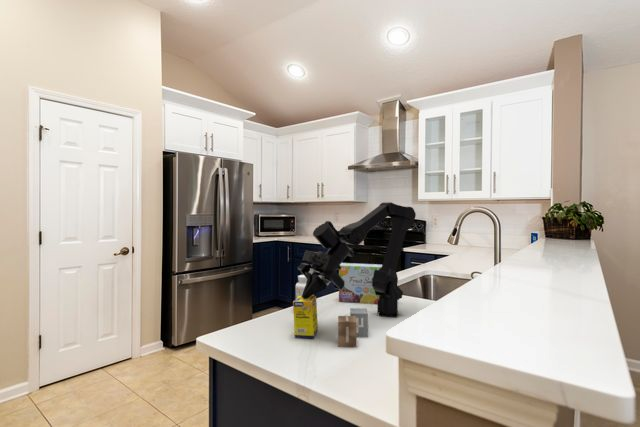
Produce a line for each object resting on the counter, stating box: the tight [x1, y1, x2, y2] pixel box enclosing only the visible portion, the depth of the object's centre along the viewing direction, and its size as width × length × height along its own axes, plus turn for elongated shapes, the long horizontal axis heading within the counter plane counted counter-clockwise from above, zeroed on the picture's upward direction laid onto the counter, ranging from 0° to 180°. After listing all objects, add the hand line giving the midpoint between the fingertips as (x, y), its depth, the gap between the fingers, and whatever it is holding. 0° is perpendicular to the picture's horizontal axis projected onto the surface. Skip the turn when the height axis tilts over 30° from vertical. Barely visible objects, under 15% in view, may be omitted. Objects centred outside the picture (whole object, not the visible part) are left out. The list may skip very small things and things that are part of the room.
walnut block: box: [337, 315, 357, 348], centre depth 98 cm, size 5×5×7 cm
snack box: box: [338, 262, 383, 305], centre depth 138 cm, size 21×6×15 cm, turn 77°
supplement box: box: [292, 295, 319, 339], centre depth 104 cm, size 6×6×11 cm
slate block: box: [349, 307, 369, 338], centre depth 105 cm, size 5×5×7 cm
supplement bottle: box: [295, 274, 315, 299], centre depth 127 cm, size 7×7×13 cm
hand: (303, 297), depth 103 cm, fingers closed, pressing on supplement box
